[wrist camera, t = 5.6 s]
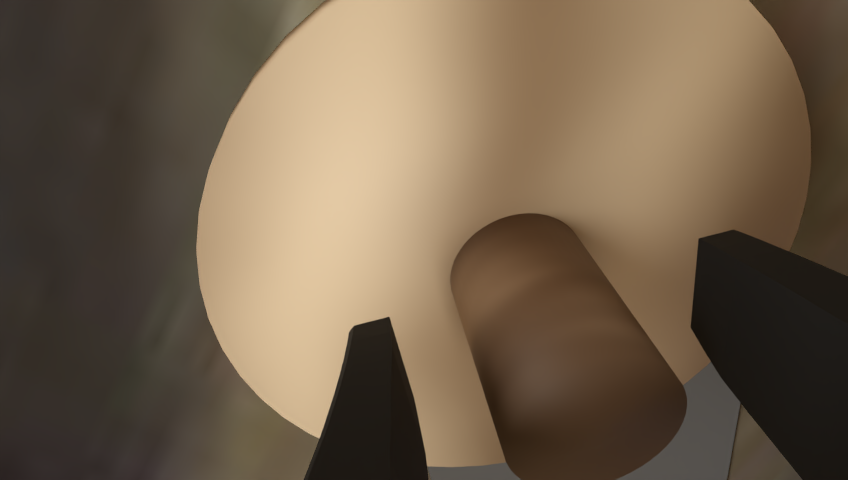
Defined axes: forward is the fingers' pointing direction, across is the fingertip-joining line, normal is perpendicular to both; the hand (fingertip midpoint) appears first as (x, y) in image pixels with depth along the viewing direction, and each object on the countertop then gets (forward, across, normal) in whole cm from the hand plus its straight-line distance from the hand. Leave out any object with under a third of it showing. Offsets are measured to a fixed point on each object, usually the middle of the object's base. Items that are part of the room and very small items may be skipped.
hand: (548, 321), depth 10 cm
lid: (+3, 0, 0) cm, 3 cm away
